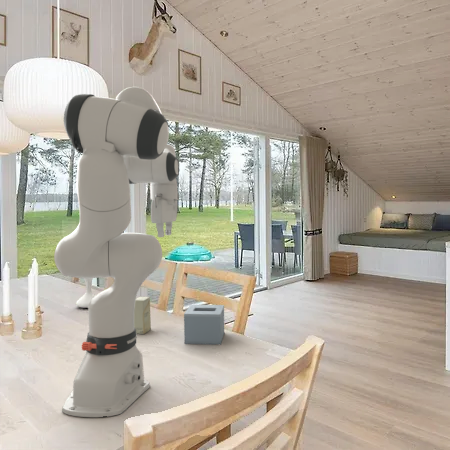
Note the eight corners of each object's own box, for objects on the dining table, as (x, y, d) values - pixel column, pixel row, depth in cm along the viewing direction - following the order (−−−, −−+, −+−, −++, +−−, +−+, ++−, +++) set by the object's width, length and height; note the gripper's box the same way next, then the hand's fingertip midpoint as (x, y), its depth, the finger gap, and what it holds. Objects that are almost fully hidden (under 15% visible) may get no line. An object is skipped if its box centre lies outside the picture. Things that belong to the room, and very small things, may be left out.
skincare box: (144, 334, 144) (143, 300, 144) (132, 333, 145) (132, 300, 145) (151, 329, 151) (150, 296, 150) (139, 328, 152) (139, 296, 151)
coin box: (220, 344, 133) (220, 314, 133) (184, 343, 134) (184, 313, 134) (224, 332, 145) (224, 305, 145) (191, 332, 146) (190, 304, 146)
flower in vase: (81, 303, 191) (80, 250, 190) (105, 303, 190) (104, 250, 189) (70, 310, 178) (68, 253, 177) (95, 310, 177) (94, 253, 176)
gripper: (165, 193, 124) (166, 238, 125) (179, 195, 145) (180, 234, 145) (145, 193, 125) (146, 238, 125) (162, 195, 145) (163, 234, 146)
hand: (164, 236), depth 135 cm, fingers open, 8 cm apart
